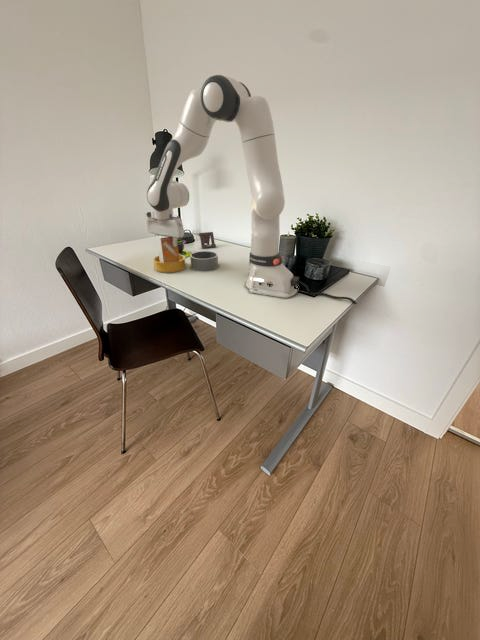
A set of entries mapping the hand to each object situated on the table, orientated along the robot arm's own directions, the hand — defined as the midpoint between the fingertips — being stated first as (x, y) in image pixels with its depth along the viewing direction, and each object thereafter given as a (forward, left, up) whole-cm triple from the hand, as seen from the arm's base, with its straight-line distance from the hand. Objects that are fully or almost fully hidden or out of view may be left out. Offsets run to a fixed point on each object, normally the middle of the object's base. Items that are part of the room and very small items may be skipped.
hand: (167, 244), depth 127 cm
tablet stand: (+9, -42, -12) cm, 45 cm away
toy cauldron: (+13, -19, -12) cm, 26 cm away
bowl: (0, 0, -12) cm, 12 cm away
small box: (0, 0, -9) cm, 9 cm away
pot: (-13, -11, -12) cm, 21 cm away
